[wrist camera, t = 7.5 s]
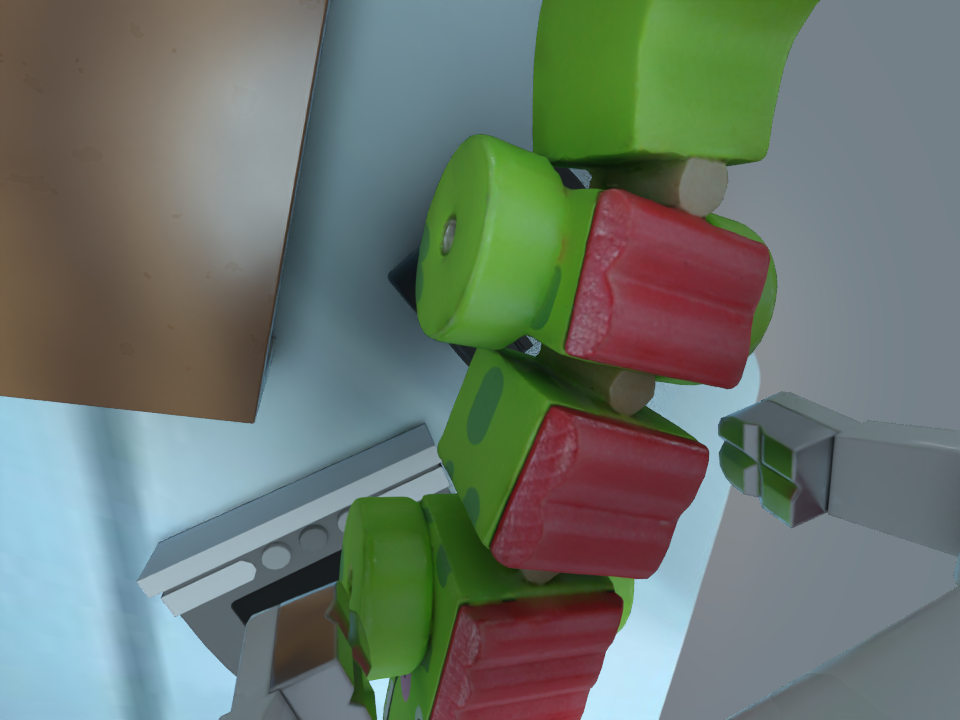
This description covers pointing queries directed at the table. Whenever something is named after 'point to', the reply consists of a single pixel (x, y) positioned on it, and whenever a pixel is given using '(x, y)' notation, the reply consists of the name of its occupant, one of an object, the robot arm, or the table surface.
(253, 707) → the robot arm
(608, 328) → the toy crocodile
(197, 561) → the alarm clock
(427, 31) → the table surface
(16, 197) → the shoe shelf
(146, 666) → the table surface
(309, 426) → the table surface
